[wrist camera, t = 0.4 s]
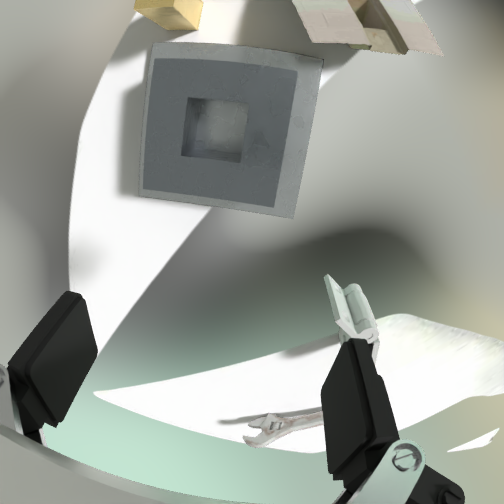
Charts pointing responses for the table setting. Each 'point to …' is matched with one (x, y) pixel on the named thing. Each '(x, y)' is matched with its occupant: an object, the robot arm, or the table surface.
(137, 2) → the brass pin
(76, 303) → the robot arm
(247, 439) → the wrench
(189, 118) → the collar block
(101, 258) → the table surface
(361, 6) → the beige piece
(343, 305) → the hinge
